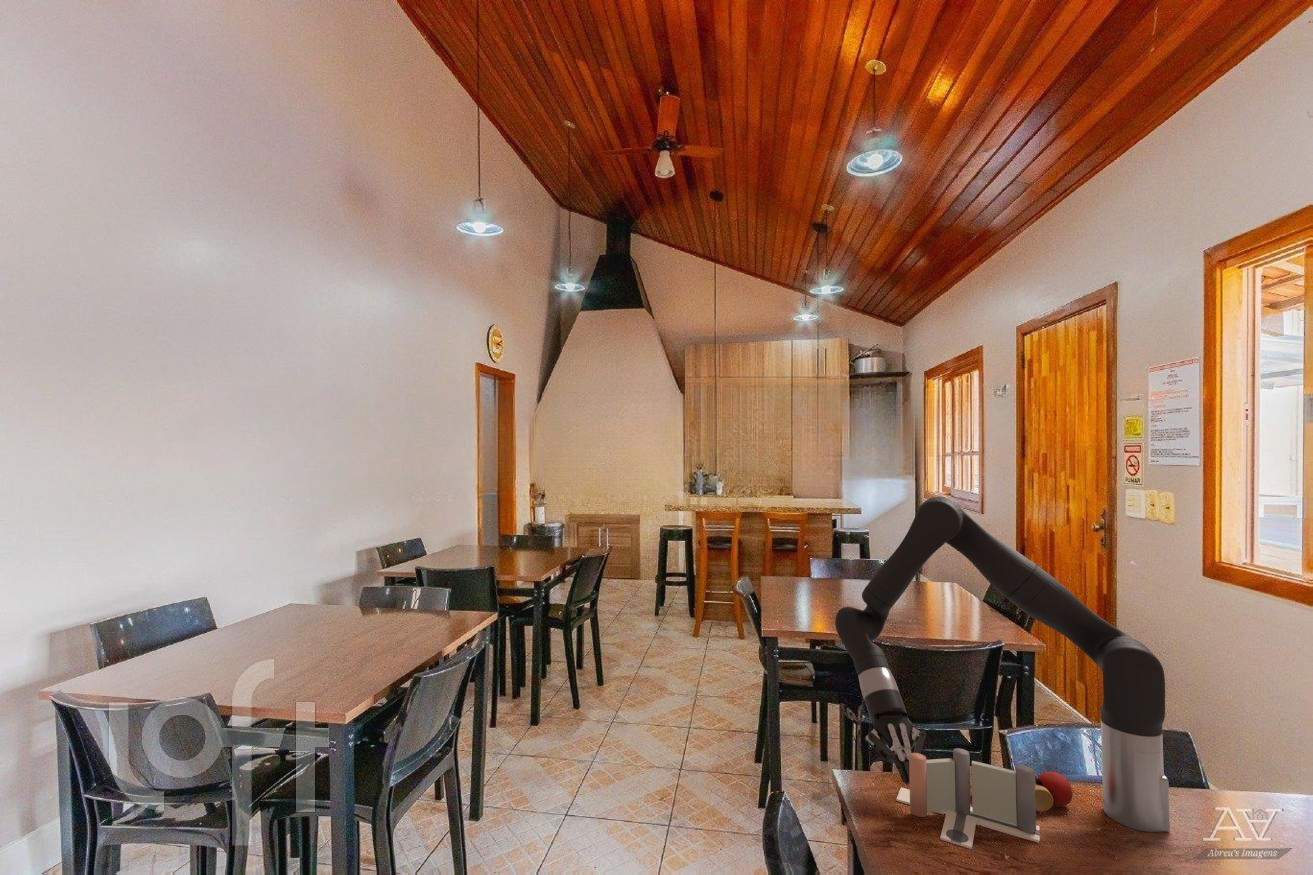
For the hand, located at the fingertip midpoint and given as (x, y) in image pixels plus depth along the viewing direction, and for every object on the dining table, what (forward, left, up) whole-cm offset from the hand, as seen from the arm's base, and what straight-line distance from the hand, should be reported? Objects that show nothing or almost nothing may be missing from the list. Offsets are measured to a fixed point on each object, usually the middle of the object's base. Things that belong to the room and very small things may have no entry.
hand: (911, 784), depth 115 cm
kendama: (-20, -12, -5) cm, 24 cm away
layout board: (-9, +2, -5) cm, 10 cm away
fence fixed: (-14, -2, -5) cm, 15 cm away
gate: (-4, 0, -4) cm, 5 cm away
